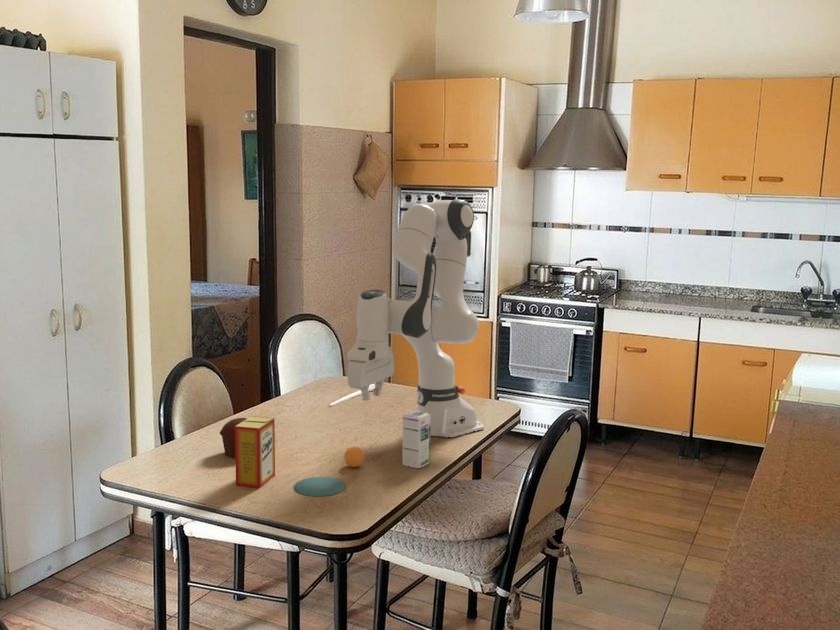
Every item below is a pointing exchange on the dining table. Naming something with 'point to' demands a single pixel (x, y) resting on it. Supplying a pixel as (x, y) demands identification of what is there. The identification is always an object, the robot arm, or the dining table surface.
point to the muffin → (230, 436)
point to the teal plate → (319, 486)
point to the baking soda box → (255, 451)
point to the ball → (354, 457)
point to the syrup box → (416, 439)
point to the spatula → (351, 395)
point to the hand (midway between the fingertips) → (371, 397)
